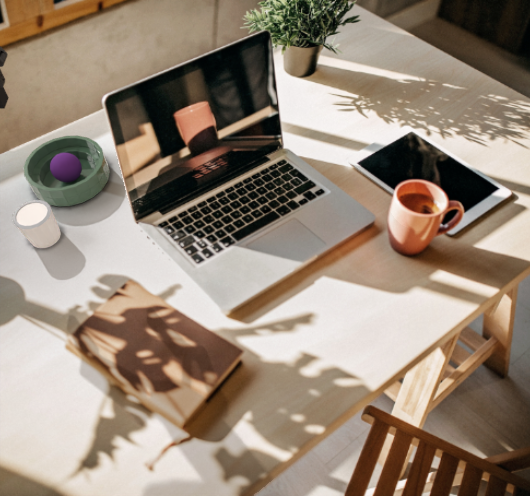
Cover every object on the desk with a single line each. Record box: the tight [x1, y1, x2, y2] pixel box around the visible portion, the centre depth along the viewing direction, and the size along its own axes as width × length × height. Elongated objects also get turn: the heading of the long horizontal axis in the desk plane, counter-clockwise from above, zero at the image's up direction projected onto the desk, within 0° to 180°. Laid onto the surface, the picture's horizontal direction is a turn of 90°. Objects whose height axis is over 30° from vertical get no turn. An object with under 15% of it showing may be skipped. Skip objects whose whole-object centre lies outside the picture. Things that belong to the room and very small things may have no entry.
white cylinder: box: [11, 199, 62, 249], centre depth 92 cm, size 7×7×7 cm
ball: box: [50, 153, 82, 182], centre depth 100 cm, size 6×6×6 cm
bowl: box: [23, 135, 111, 207], centre depth 101 cm, size 16×16×5 cm
